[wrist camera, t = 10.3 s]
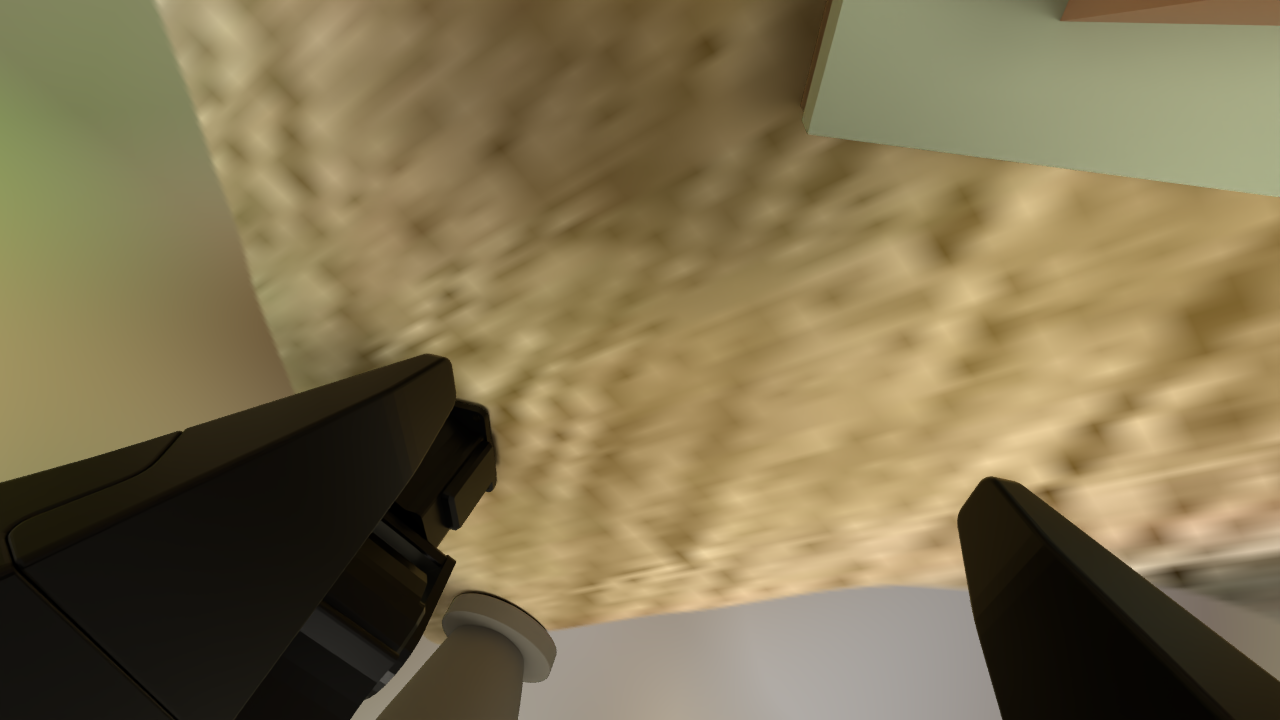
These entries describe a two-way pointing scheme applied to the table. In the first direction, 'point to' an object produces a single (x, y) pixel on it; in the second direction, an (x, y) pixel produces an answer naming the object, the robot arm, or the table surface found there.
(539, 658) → the vase
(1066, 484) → the table surface
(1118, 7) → the terracotta block
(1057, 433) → the table surface
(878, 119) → the sage slab
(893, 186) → the table surface
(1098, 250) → the table surface
